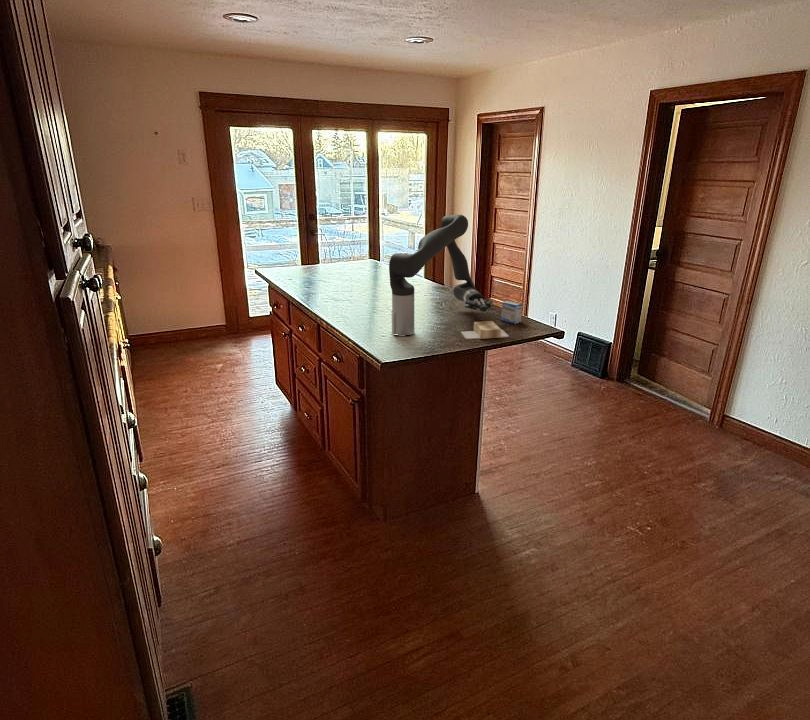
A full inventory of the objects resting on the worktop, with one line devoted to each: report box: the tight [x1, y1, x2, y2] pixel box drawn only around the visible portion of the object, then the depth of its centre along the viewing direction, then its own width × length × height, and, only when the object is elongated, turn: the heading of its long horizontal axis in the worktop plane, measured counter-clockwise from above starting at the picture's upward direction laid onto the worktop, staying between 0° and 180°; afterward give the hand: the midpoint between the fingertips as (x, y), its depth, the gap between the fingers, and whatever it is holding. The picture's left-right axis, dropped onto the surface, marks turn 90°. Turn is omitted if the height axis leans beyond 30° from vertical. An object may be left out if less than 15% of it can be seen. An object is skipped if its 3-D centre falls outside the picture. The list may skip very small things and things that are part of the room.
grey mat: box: [460, 329, 510, 340], centre depth 215 cm, size 18×9×1 cm, turn 98°
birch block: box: [473, 320, 502, 340], centre depth 215 cm, size 8×4×12 cm
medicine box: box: [500, 300, 523, 325], centre depth 231 cm, size 8×4×9 cm, turn 45°
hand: (484, 309), depth 217 cm, fingers closed
